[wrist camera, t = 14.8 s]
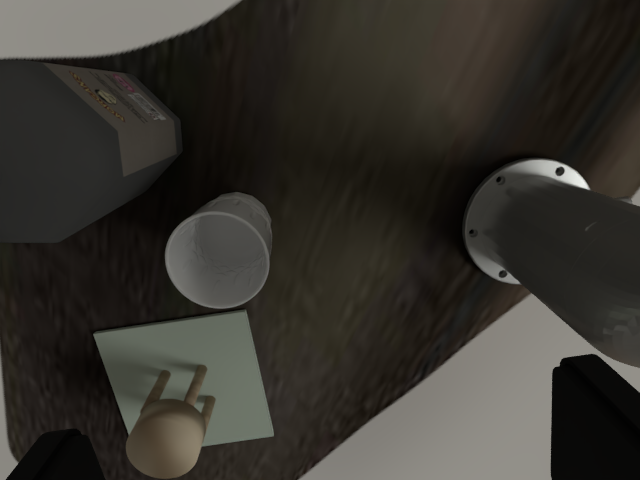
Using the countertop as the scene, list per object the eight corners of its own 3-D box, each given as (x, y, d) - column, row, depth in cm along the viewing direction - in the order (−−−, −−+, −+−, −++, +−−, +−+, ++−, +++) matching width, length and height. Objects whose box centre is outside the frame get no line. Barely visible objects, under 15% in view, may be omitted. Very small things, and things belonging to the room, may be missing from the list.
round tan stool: (210, 357, 47) (188, 416, 38) (223, 407, 49) (205, 473, 40) (151, 366, 47) (116, 426, 38) (167, 415, 49) (137, 483, 40)
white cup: (232, 277, 45) (211, 326, 35) (179, 217, 42) (142, 251, 33) (294, 233, 43) (290, 271, 34) (243, 168, 41) (223, 190, 32)
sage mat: (245, 309, 46) (245, 311, 45) (273, 432, 51) (273, 436, 50) (95, 331, 46) (93, 334, 46) (137, 452, 51) (136, 455, 50)
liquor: (118, 57, 38) (-454, -61, 9) (199, 134, 40) (-68, 228, 12) (55, 133, 40) (-584, 226, 11) (136, 203, 42) (-229, 430, 13)
